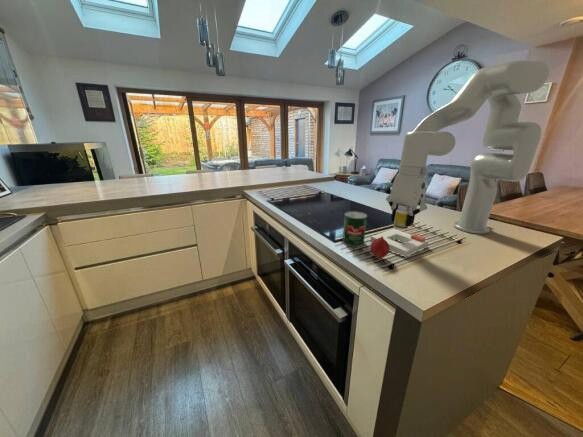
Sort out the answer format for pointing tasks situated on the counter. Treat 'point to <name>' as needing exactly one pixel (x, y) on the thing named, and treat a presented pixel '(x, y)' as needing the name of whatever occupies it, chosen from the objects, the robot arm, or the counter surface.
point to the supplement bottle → (401, 217)
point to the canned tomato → (354, 228)
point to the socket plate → (411, 241)
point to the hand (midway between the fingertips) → (401, 222)
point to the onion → (379, 247)
